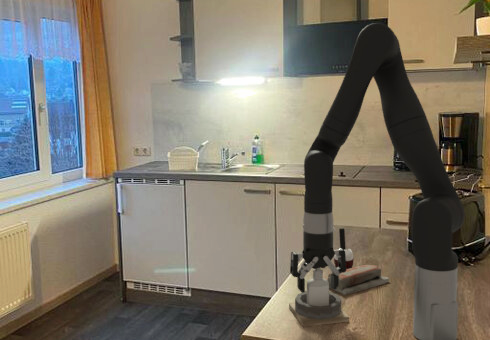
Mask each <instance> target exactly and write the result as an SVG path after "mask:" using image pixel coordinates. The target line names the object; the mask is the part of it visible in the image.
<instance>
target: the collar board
mask: <svg viewBox="0 0 490 340" xmlns="http://www.w3.org/2000/svg"><path fill="white" fill-rule="evenodd" d="M288 308H289V310H290V311H291V312H292V313H293V315H294V317H295V318H296V320H297V321H299V323H300V325H301V326H302V327H303V328H305V327H312V326H321V325H322V326H323V325H331V324H337V323H348V322H350V316H349V315H348V314H347V313H346V312H345V311H344V309H342V298H341V297H340V296H339V295H338V294H336V293H334V292H331V291H329V305H326V306H314V305H308V304H307V290H305V292H303V293H302V292H300V293H298V294H297V295H296V296H295V299H294V302H289V303H288Z"/></svg>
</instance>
